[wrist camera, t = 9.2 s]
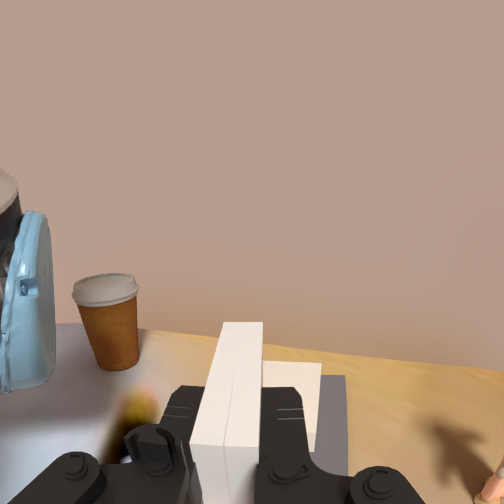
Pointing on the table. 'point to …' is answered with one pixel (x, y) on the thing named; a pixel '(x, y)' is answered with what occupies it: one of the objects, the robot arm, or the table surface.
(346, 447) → the mat
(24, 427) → the table surface
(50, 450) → the table surface
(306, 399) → the tile
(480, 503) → the grandmother figurine
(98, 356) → the disposable coffee cup
